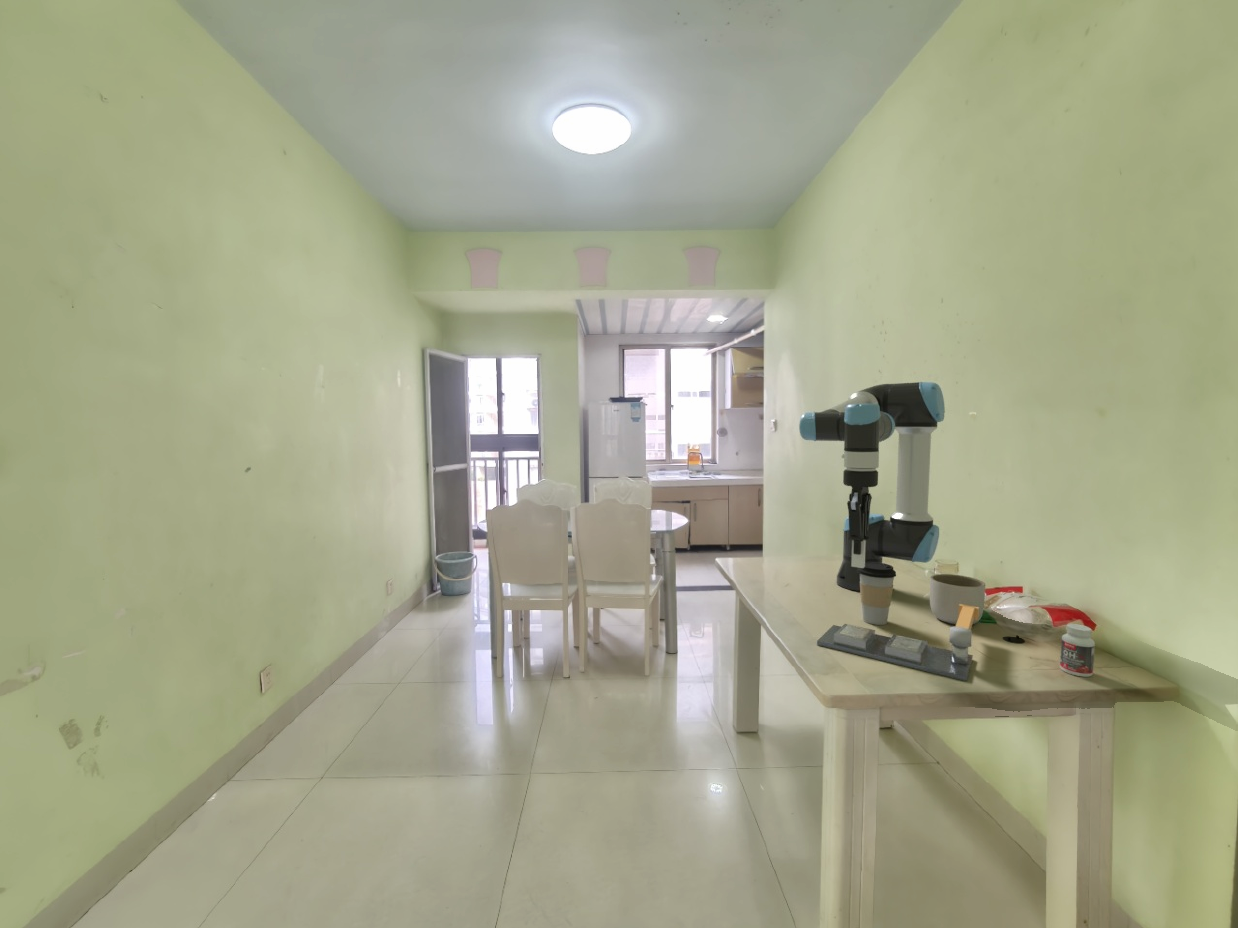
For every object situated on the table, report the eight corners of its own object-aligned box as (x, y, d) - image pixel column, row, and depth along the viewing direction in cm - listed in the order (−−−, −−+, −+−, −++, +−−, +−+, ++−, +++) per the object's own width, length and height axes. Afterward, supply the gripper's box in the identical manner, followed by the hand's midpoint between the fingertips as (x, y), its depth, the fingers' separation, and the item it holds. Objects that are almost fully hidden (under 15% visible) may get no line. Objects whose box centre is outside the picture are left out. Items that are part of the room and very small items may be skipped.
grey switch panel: (833, 628, 140) (833, 610, 139) (972, 659, 121) (973, 639, 121) (817, 644, 129) (817, 625, 129) (966, 681, 111) (967, 658, 111)
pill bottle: (1059, 672, 115) (1062, 627, 115) (1060, 663, 119) (1062, 620, 119) (1093, 680, 112) (1096, 633, 111) (1092, 671, 116) (1095, 626, 115)
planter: (954, 630, 139) (956, 588, 138) (918, 613, 151) (919, 575, 150) (995, 627, 141) (997, 585, 140) (956, 610, 153) (958, 572, 153)
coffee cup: (899, 628, 140) (901, 571, 139) (859, 625, 142) (861, 569, 141) (888, 616, 149) (890, 562, 148) (851, 613, 151) (853, 560, 150)
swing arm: (970, 648, 115) (971, 634, 115) (948, 644, 118) (949, 630, 117) (978, 618, 133) (978, 606, 133) (958, 615, 135) (959, 603, 135)
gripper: (851, 465, 136) (849, 558, 139) (836, 470, 126) (834, 570, 128) (884, 467, 132) (881, 562, 134) (871, 472, 122) (868, 575, 124)
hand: (858, 566), depth 131 cm, fingers closed
